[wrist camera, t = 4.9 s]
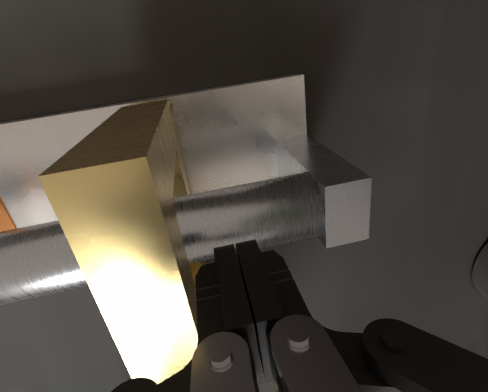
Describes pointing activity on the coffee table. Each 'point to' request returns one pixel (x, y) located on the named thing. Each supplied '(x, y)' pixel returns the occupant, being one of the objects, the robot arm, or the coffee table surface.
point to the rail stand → (189, 181)
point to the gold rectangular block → (132, 234)
